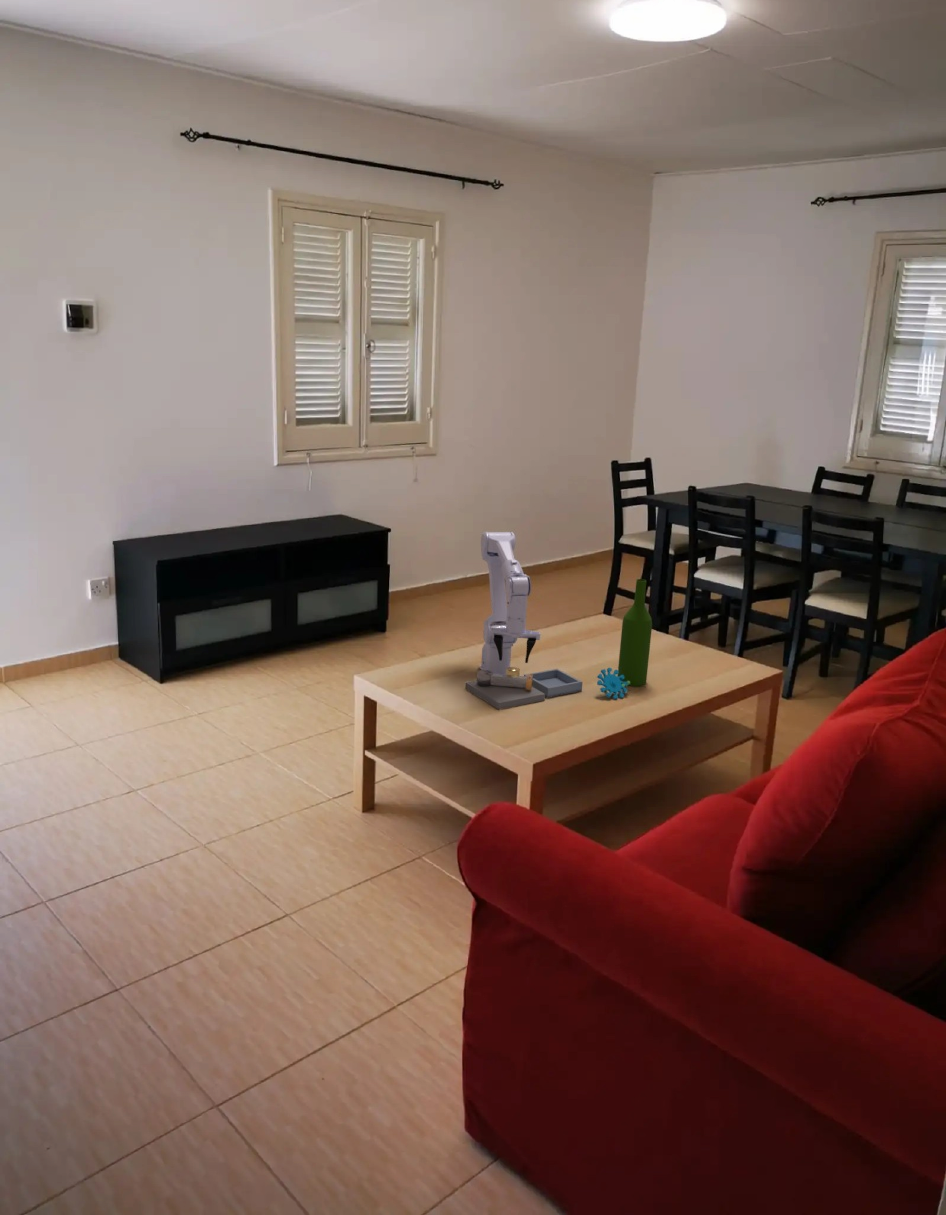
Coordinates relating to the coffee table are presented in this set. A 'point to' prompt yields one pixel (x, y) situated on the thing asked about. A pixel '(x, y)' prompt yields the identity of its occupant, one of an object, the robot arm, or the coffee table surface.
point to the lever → (503, 680)
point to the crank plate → (505, 695)
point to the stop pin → (513, 671)
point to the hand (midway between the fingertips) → (513, 660)
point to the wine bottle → (635, 640)
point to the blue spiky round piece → (612, 683)
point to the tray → (555, 683)
